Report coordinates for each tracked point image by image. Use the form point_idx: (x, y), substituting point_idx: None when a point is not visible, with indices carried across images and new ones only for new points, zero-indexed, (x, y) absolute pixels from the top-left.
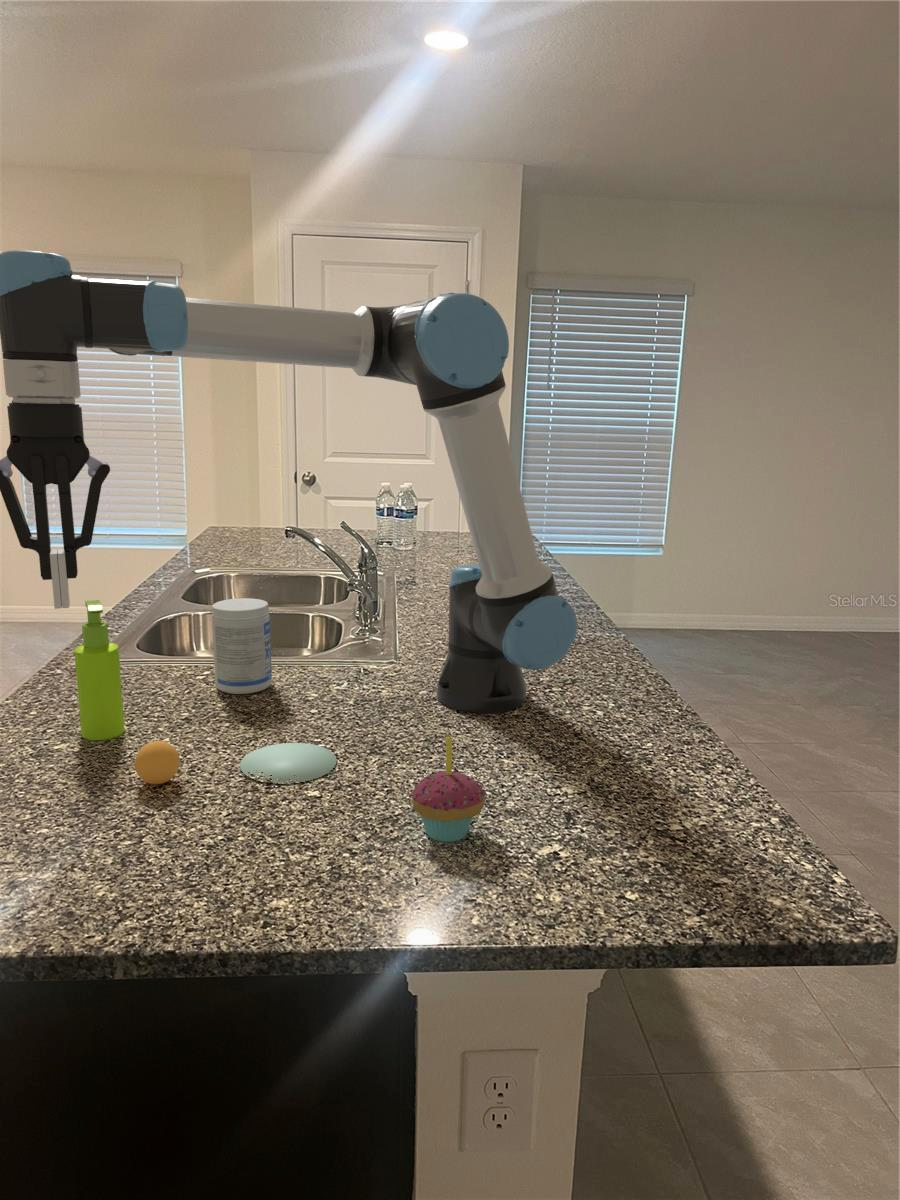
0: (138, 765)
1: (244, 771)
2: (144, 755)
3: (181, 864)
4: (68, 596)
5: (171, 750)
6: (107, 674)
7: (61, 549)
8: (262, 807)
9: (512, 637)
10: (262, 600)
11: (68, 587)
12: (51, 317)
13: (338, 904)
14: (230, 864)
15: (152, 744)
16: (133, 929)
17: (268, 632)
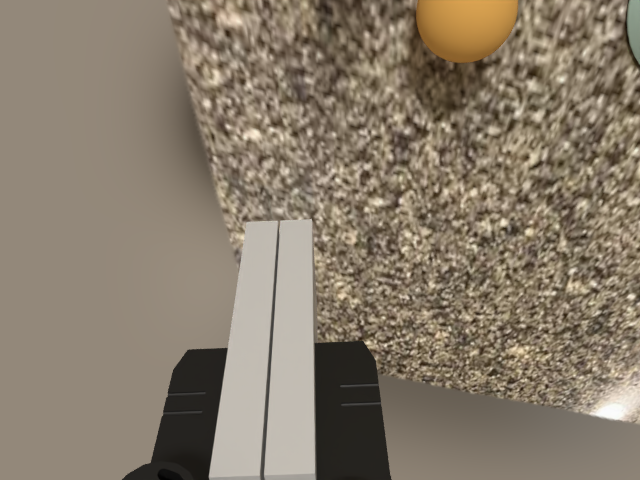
0: (424, 41)
1: (633, 8)
2: (442, 47)
3: (438, 267)
4: (316, 322)
5: (503, 39)
6: None
7: (287, 473)
8: (596, 157)
9: None
10: None
11: (312, 271)
12: None
13: (570, 364)
14: (494, 281)
15: (468, 30)
16: (372, 352)
17: None
